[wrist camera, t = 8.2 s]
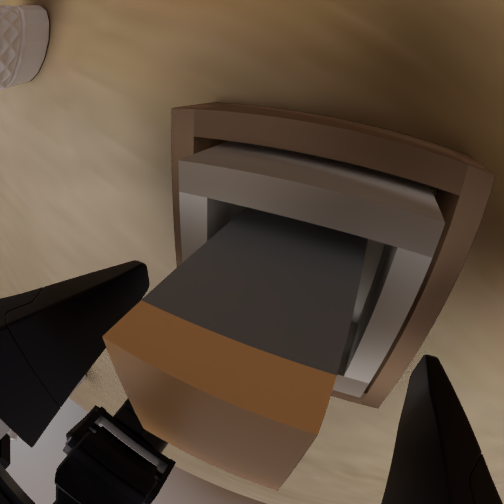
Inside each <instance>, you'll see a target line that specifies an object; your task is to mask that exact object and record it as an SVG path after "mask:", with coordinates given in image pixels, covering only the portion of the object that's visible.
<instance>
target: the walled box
mask: <svg viewBox="0 0 504 504" xmlns="http://www.w3.org/2000/svg"><path fill="white" fill-rule="evenodd" d="M171 154H172V193H173V215H174V233H175V248H176V261H177V267H178V266H180V265H181V264H182V263H183V262H184V261H185V260H186V259H188V258H189V257H190V256H191V255H192V254H193V253H194V252H195V251H197V250H198V249H199V248H200V247H201V246H202V245H203V244H205V243H206V242H207V241H208V240H209V239H210V238H211V237H213V236H214V235H215V234H216V233H217V232H218V231H220V230H221V229H222V228H223V227H224V226H225V225H227V224H228V223H229V222H230V221H231V220H232V219H234V218H235V217H236V216H237V215H238V214H239V213H241V212H242V211H243V210H244V209H245V208H247V207H249V208H253V209H257V210H261V211H265V212H269V213H273V214H277V215H281V216H285V217H289V218H293V219H297V220H301V221H305V222H309V223H312V224H316V225H320V226H324V227H327V228H331V229H335V230H339V231H342V232H346V233H349V234H353V235H357V236H360V237H364V238H367V239H368V241H367V247H366V253H365V258H364V264H363V269H362V274H361V279H360V284H359V289H358V294H357V298H356V303H355V307H354V312H353V316H352V320H351V324H350V329H349V333H348V337H347V340H346V344H345V348H344V352H343V356H342V359H341V363H340V366H339V370H338V373H337V377H336V380H335V383H334V387H333V390H332V393H331V396H334V397H337V398H341V399H344V400H348V401H351V402H355V403H359V404H362V405H366V406H370V407H374V408H379V406H380V405H381V404H382V402H383V401H384V400H385V398H386V397H387V396H388V394H389V393H390V391H391V390H392V389H393V387H394V386H395V384H396V383H397V382H398V380H399V379H400V377H401V376H402V374H403V373H404V371H405V370H406V368H407V367H408V365H409V364H410V362H411V361H412V359H413V358H414V356H415V354H416V353H417V351H418V350H419V348H420V346H421V345H422V343H423V341H424V340H425V338H426V336H427V335H428V333H429V331H430V330H431V328H432V326H433V324H434V323H435V321H436V319H437V317H438V315H439V313H440V312H441V310H442V308H443V306H444V304H445V302H446V300H447V298H448V296H449V294H450V292H451V290H452V288H453V286H454V284H455V282H456V280H457V278H458V276H459V273H460V271H461V269H462V267H463V265H464V262H465V260H466V258H467V255H468V253H469V251H470V248H471V246H472V243H473V241H474V238H475V236H476V233H477V230H478V228H479V225H480V222H481V219H482V217H483V214H484V211H485V208H486V205H487V202H488V199H489V196H490V192H491V189H492V186H493V182H494V179H495V175H494V174H493V173H491V172H490V171H489V170H488V169H487V168H485V167H484V166H483V165H482V164H480V163H479V162H478V161H476V160H475V159H474V158H473V157H471V156H469V155H466V154H463V153H461V152H458V151H455V150H452V149H449V148H447V147H444V146H441V145H438V144H435V143H431V142H428V141H425V140H422V139H419V138H415V137H412V136H409V135H405V134H401V133H398V132H394V131H390V130H387V129H383V128H379V127H375V126H371V125H366V124H362V123H358V122H353V121H348V120H344V119H339V118H334V117H328V116H323V115H317V114H311V113H305V112H299V111H292V110H285V109H278V108H270V107H261V106H252V105H241V104H229V103H214V102H213V103H205V104H197V105H190V106H183V107H177V108H172V111H171ZM430 186H432V187H435V188H438V189H439V191H438V194H437V198H436V200H435V197H434V195H433V193H432V191H431V188H430Z"/></svg>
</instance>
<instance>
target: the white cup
mask: <svg viewBox="0 0 504 504" xmlns="http://www.w3.org/2000/svg"><path fill="white" fill-rule="evenodd" d="M48 41H49V19H48V15H47V11H46V10H45V9H44V8H43V7H41V6H40V5H24V6H10V5H0V90H2V89H4V88H8V87H12V86H15V85H19V84H23V83H26V82H29V81H31V80H32V79H33V78H34V77H35V76H36V75H37V73H38V72H39V69H40V67H41V65H42V63H43V61H44V58H45V54H46V50H47V45H48Z"/></svg>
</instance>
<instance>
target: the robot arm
mask: <svg viewBox="0 0 504 504" xmlns="http://www.w3.org/2000/svg"><path fill="white" fill-rule="evenodd" d="M148 288H149V277H148V271H147V266H146V264H144V263H142V262H139V261H136V260H134V261H131V262H127V263H124V264H120V265H117V266H113V267H110V268H106V269H103V270H99V271H96V272H92V273H89V274H86V275H82V276H79V277H75V278H72V279H69V280H65V281H62V282H59V283H55V284H52V285H49V286H45V287H44V288H43V287H42V288H39V289H35V290H32V291H29V292H25V293H22V294H18V295H14V296H10V297H5V298H1V299H0V504H35V503H34V502H33V501H32V500H31V499H30V498H29V496H27V494H26V493H25V492H24V491H23V490H22V489H21V488H20V487H19V486H18V484H17V483H16V482H15V481H14V480H13V478H12V477H11V476H10V475H9V474H8V472H7V471H6V470H5V469H6V468H7V467H8V466H9V465H10V436H9V435H8V433H7V432H8V431H9V430H10V429H11V430H12V431H13V432H14V433H16V434H17V435H18V436H19V437H20V438H21V439H22V440H23V441H24V442H26V443H27V444H28V445H29V446H30V447H33V446H34V445H35V443H36V442H37V440H38V439H39V438H40V436H41V435H42V433H43V431H44V430H45V429H46V427H47V426H48V425H49V423H50V422H51V420H52V419H53V418H54V416H55V415H56V413H57V412H58V411H59V409H60V407H61V406H62V405H63V404H64V402H65V401H66V400H67V398H68V397H69V395H70V394H71V393H72V391H73V390H74V389H75V387H76V386H77V385H78V383H79V382H80V381H81V379H82V378H83V377H84V375H85V374H86V373H87V372H88V370H89V369H90V368H91V366H92V365H93V364H94V362H95V361H96V360H97V359H98V357H99V356H100V355H101V353H102V352H103V351H104V350H105V348H106V345H105V342H104V340H103V337H102V336H103V335H105V334H106V333H107V332H108V331H109V330H110V329H111V328H112V327H113V326H114V325H115V324H116V323H117V322H118V321H119V320H120V319H122V318H123V317H124V316H125V315H126V314H127V313H128V312H129V311H130V310H131V309H132V308H133V307H134V306H135V305H137V304H138V303H139V302H140V301H141V299H142V298H143V296H144V295H145V293H146V292H147V290H148ZM99 423H101V424H103V425H104V426H105V427H106V428H107V429H109V430H110V431H111V432H112V433H113V434H115V435H116V436H117V437H119V438H120V439H121V440H122V441H124V442H125V443H126V444H128V445H129V446H130V447H131V448H133V449H134V450H136V451H137V452H138V453H140V454H141V455H143V456H144V457H145V458H147V459H148V460H150V461H151V462H153V463H154V464H155V465H157V466H155V465H154V464H152V463H151V462H149V461H148V460H147V459H145V458H144V457H142V456H141V455H139V454H138V453H137V452H135V451H134V450H133V449H131V448H130V447H128V446H127V445H126V444H125V443H123V442H122V441H121V440H119V439H118V438H117V437H115V436H114V435H113V434H112V433H111V432H109V431H108V430H107V429H106V428H105V427H103V426H102V427H100V426H99ZM66 437H67V442H66V446H65V447H64V449H63V451H64V452H65V453H66V454H67V457H66V458H65V459H64V460H63V461H62V463H61V464H60V465H59V466H58V468H57V472H56V474H55V484H56V501H55V502H54V503H53V504H151V503H152V501H153V500H154V499H155V497H156V496H157V494H158V493H159V491H160V489H161V488H162V486H163V484H164V482H165V481H166V479H167V477H168V475H169V474H170V472H171V470H172V468H173V467H174V465H175V463H176V462H175V461H173V460H172V459H169V458H167V457H166V456H164V455H163V454H161V453H162V451H163V450H164V448H165V447H166V446H167V444H168V442H166V441H164V440H162V439H161V438H159V437H157V436H155V435H154V434H152V433H150V432H149V431H147V430H145V429H144V428H143V426H142V425H141V423H140V421H139V419H138V417H137V415H136V413H135V411H134V409H133V407H132V405H131V403H130V401H129V398H128V399H127V400H126V401H125V402H124V404H123V405H122V407H121V408H120V409H119V410H118V411H117V412H116V414H115V415H114V416H113V417H112V416H111V415H110V414H109V413H108V412H106V410H105V409H104V408H103V407H101V408H99V407H98V406H96V405H95V407H94V408H93V409H92V410H91V411H90V412H89V413H88V414H87V415H86V416H85V418H83V419H82V420H81V421H80V422H79V423H78V424H77V425H75V426H74V427H73V428H72V429H71V430H70V431H69V432H68V433H67V434H66ZM381 504H503V503H502V501H501V499H500V496H499V494H498V492H497V489H496V487H495V485H494V482H493V480H492V478H491V475H490V472H489V470H488V467H487V465H486V462H485V459H484V457H483V455H482V454H481V449H480V447H479V444H478V442H477V439H476V437H475V435H474V432H473V430H472V428H471V425H470V423H469V421H468V418H467V416H466V414H465V412H464V410H463V407H462V405H461V403H460V401H459V399H458V397H457V395H456V393H455V391H454V389H453V386H452V384H451V382H450V380H449V378H448V376H447V374H446V373H445V371H444V369H443V367H442V365H441V363H440V361H439V359H438V358H437V357H435V356H431V355H424V356H423V357H422V358H421V360H420V361H419V363H418V364H417V366H416V367H415V369H414V370H413V372H412V374H411V376H410V380H409V384H408V389H407V393H406V397H405V402H404V406H403V410H402V413H401V417H400V421H399V426H398V431H397V437H396V442H395V448H394V453H393V458H392V463H391V467H390V472H389V476H388V480H387V484H386V488H385V492H384V496H383V500H382V503H381Z"/></svg>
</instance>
